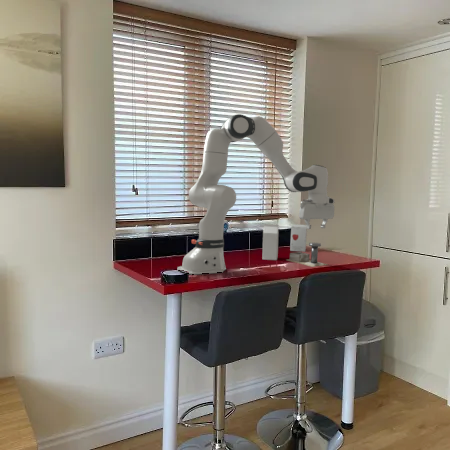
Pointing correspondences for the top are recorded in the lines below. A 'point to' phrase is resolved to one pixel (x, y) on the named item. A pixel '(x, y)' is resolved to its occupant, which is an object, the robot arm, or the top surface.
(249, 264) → the top surface
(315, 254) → the pin
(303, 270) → the top surface
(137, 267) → the top surface
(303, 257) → the eye block
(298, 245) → the supplement box
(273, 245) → the milk carton
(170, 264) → the top surface
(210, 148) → the robot arm
